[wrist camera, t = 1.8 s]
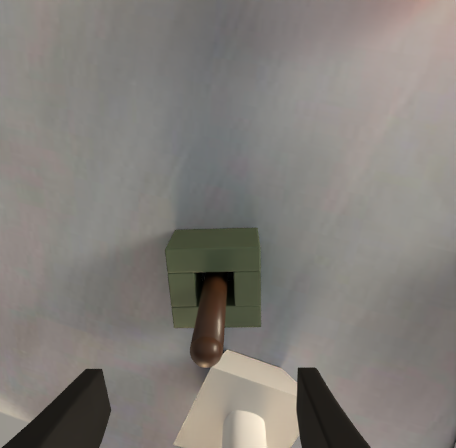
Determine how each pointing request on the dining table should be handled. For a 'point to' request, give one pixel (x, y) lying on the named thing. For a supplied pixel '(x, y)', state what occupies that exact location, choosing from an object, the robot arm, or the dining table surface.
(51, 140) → the dining table surface
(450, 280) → the dining table surface
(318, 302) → the dining table surface
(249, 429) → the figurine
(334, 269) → the dining table surface
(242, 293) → the holder
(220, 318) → the stick
